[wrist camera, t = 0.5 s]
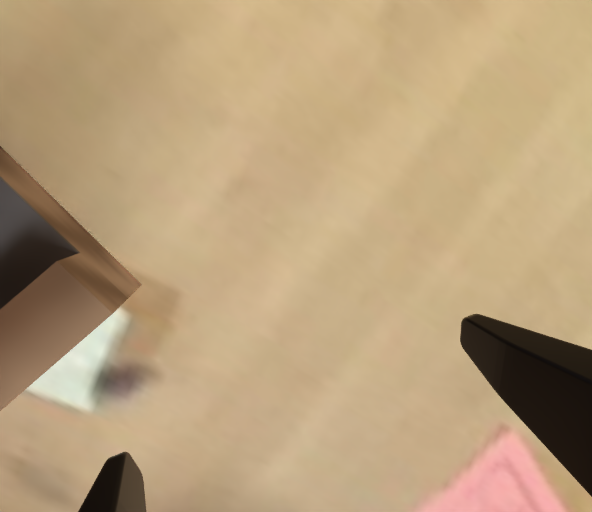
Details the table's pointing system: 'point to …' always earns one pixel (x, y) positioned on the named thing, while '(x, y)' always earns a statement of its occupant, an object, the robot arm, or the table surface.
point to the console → (47, 281)
